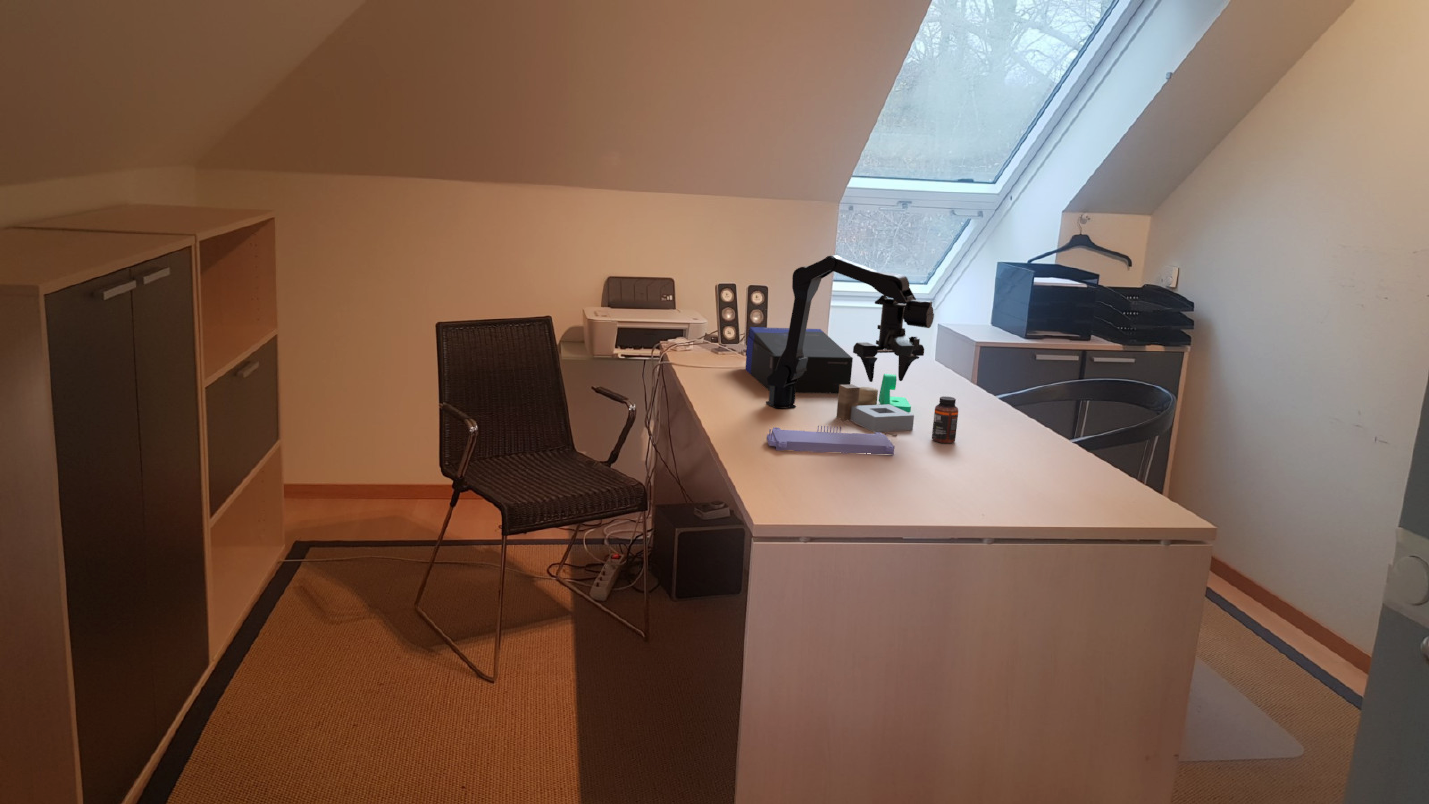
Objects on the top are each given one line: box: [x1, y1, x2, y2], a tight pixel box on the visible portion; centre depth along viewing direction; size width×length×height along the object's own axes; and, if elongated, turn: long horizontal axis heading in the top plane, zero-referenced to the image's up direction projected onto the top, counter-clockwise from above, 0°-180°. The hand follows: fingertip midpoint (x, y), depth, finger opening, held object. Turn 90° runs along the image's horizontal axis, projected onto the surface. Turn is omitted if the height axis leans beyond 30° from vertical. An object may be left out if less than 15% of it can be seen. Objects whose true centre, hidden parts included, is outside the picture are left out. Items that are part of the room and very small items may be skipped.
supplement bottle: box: [931, 395, 959, 444], centre depth 268 cm, size 6×6×11 cm
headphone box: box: [744, 326, 854, 394], centre depth 329 cm, size 25×35×14 cm
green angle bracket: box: [878, 373, 912, 413], centre depth 299 cm, size 12×8×10 cm, turn 178°
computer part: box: [766, 425, 895, 456], centre depth 256 cm, size 30×4×15 cm
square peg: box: [836, 383, 860, 422], centre depth 285 cm, size 4×4×9 cm
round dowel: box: [858, 386, 879, 406], centre depth 296 cm, size 6×6×6 cm
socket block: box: [849, 404, 915, 433], centre depth 280 cm, size 12×12×4 cm
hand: (885, 381), depth 278 cm, fingers open, 9 cm apart
